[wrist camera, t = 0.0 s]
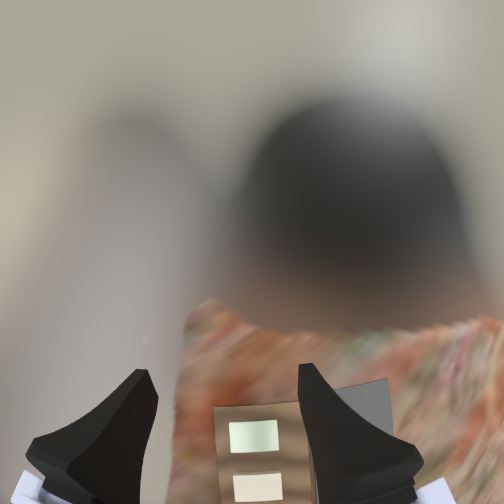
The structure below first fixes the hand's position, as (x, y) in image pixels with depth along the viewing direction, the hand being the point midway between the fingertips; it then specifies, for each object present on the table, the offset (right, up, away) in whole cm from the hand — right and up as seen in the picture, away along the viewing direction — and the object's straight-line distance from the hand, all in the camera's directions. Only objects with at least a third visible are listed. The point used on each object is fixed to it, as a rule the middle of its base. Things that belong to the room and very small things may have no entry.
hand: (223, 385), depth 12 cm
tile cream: (+2, -29, +18) cm, 35 cm away
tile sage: (+2, -21, +23) cm, 31 cm away
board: (+3, -26, +22) cm, 34 cm away
